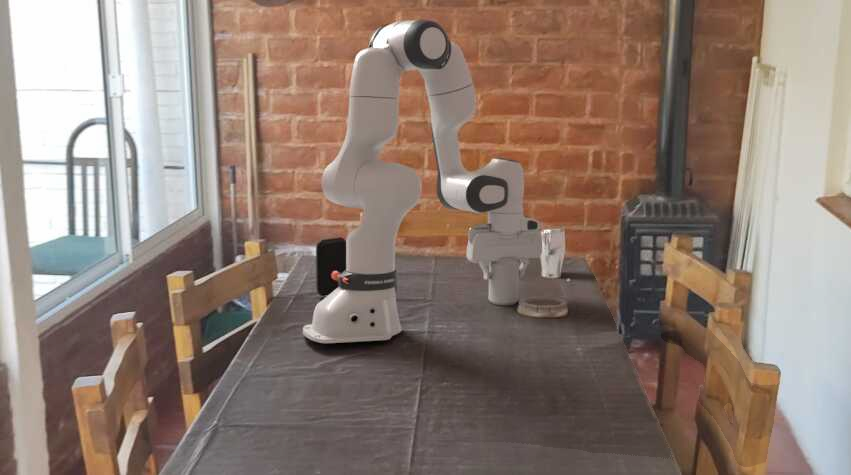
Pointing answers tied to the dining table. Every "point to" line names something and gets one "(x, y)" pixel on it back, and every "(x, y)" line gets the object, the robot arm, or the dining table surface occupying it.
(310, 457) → the dining table surface
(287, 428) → the dining table surface
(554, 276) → the beer glass
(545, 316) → the beige round shallow dish
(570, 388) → the dining table surface
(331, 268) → the carrying case or bag
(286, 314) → the dining table surface
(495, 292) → the can
